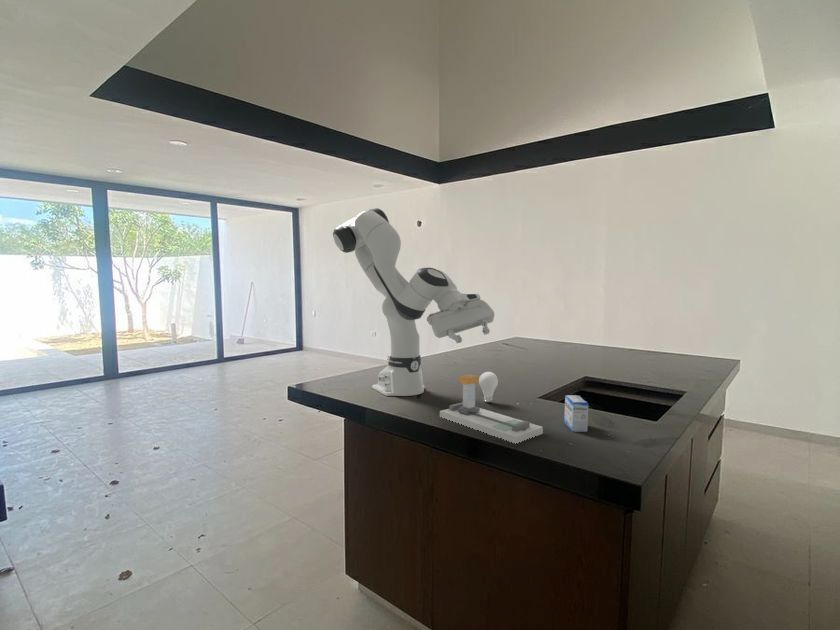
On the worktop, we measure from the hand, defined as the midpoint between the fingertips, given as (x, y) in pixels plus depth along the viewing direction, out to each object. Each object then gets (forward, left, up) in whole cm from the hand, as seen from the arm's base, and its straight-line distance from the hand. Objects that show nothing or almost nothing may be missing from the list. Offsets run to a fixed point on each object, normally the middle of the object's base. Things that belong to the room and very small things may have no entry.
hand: (473, 337), depth 134 cm
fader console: (+6, 0, -26) cm, 27 cm away
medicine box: (+24, +18, -26) cm, 40 cm away
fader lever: (-2, 0, -24) cm, 24 cm away
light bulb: (-10, +18, -26) cm, 34 cm away
